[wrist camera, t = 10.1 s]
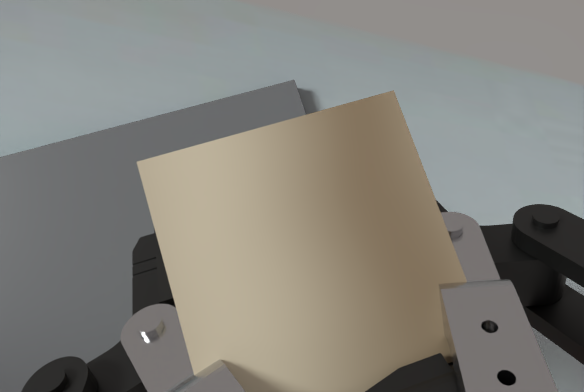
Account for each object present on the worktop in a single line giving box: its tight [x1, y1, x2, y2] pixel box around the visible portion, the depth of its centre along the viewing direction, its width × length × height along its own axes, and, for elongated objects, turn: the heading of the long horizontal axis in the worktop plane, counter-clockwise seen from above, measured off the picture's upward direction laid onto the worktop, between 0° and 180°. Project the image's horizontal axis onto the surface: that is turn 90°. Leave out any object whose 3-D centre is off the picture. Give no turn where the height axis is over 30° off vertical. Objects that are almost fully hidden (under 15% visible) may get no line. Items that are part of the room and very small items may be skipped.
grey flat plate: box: [0, 80, 306, 392], centre depth 26 cm, size 20×18×1 cm
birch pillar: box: [137, 91, 467, 392], centre depth 13 cm, size 5×5×10 cm
